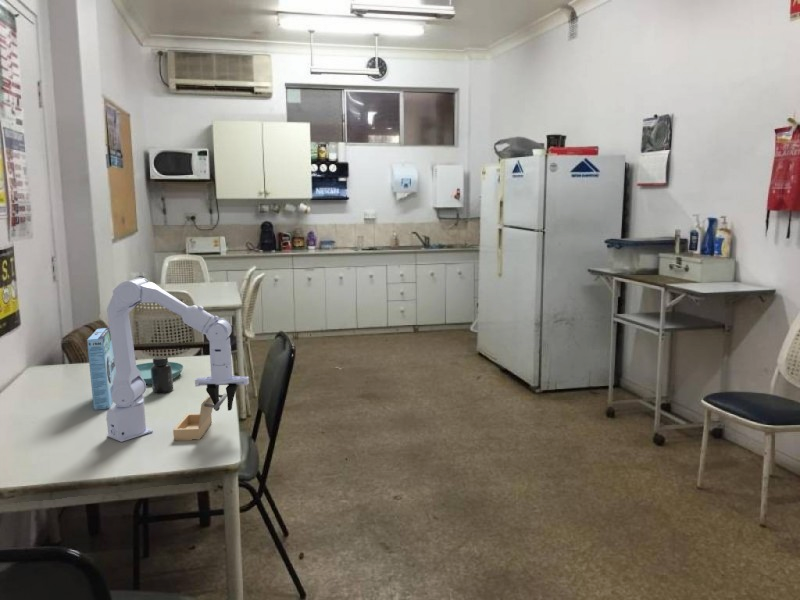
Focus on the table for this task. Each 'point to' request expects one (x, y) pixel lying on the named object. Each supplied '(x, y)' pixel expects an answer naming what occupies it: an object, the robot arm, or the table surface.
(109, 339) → the gum box
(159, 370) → the supplement bottle
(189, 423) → the carton
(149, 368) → the saucer
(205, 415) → the lid
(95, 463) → the table surface
